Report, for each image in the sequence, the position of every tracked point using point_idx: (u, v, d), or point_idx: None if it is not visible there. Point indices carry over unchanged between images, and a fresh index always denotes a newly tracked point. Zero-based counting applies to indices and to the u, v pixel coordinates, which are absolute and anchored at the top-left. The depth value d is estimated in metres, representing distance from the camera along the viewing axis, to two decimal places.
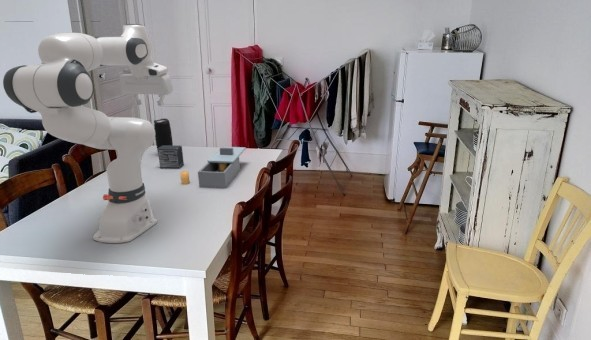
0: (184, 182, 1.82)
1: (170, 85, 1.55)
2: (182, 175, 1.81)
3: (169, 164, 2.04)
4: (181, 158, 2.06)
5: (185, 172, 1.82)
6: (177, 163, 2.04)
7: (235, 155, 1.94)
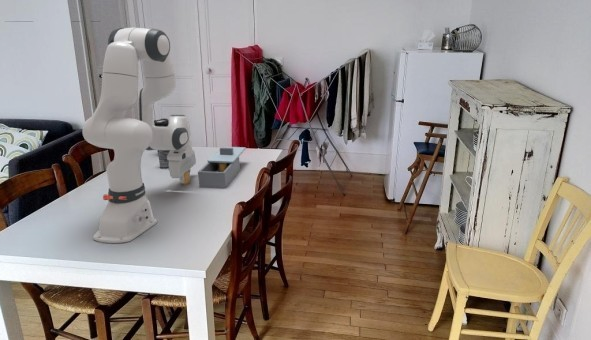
0: (184, 182, 1.82)
1: (175, 172, 1.72)
2: None
3: None
4: None
5: None
6: None
7: (235, 155, 1.94)
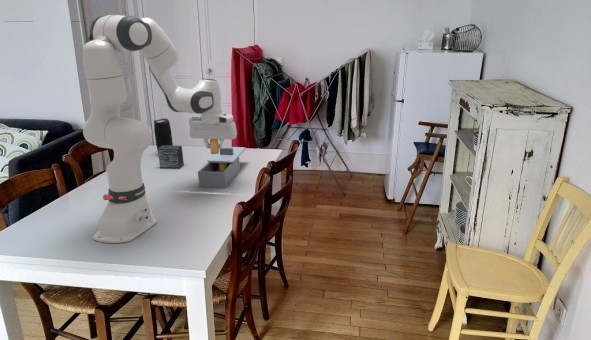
0: None
1: (235, 131, 1.75)
2: (217, 141, 1.77)
3: (169, 164, 2.04)
4: (181, 158, 2.06)
5: (214, 139, 1.78)
6: (177, 163, 2.04)
7: (235, 155, 1.94)
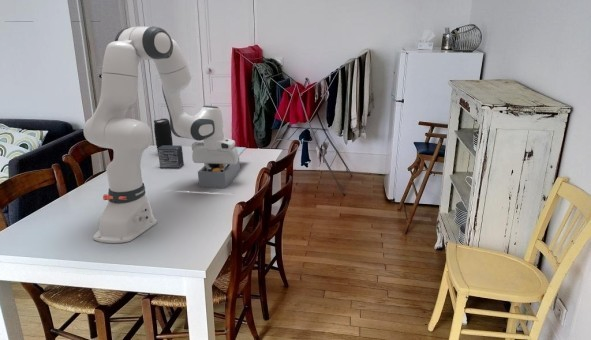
0: None
1: (237, 156, 1.79)
2: (220, 171, 1.82)
3: (169, 164, 2.04)
4: (181, 158, 2.06)
5: (216, 169, 1.82)
6: (177, 163, 2.04)
7: None
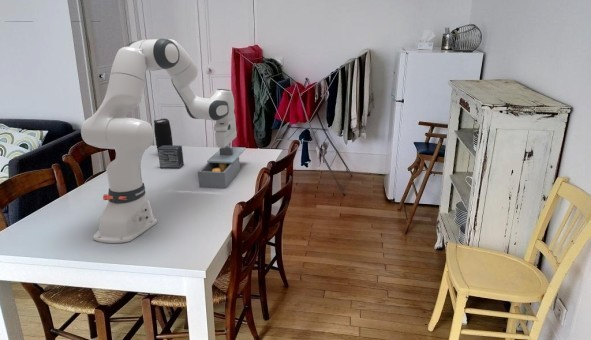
0: None
1: (221, 141, 1.86)
2: (219, 171, 1.82)
3: (169, 164, 2.04)
4: (181, 158, 2.06)
5: (216, 169, 1.82)
6: (177, 163, 2.04)
7: (235, 155, 1.93)
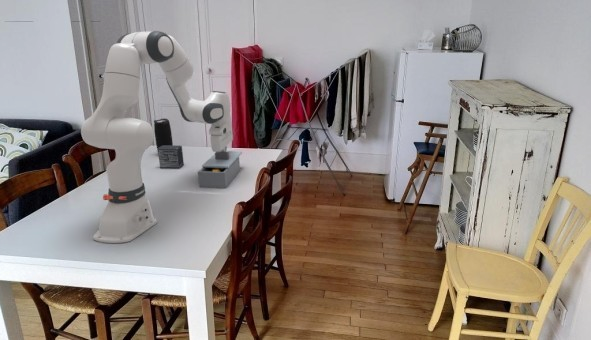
0: None
1: (216, 145, 1.80)
2: (219, 171, 1.82)
3: (169, 164, 2.04)
4: (181, 158, 2.06)
5: (216, 169, 1.82)
6: (177, 163, 2.04)
7: (231, 160, 1.88)
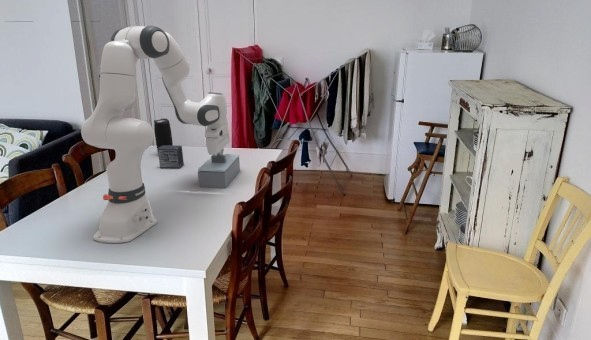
0: None
1: (212, 148, 1.75)
2: None
3: (169, 164, 2.04)
4: (181, 158, 2.06)
5: None
6: (177, 163, 2.04)
7: (227, 163, 1.83)
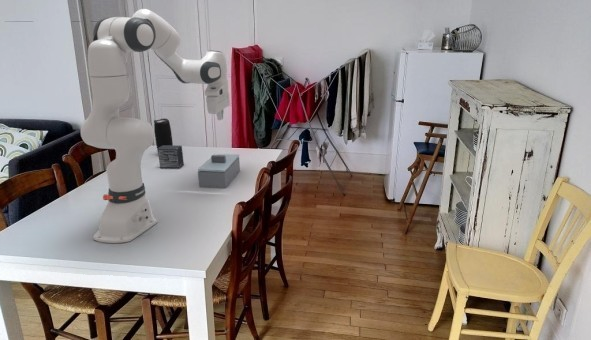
0: None
1: (212, 107, 1.73)
2: None
3: (169, 164, 2.04)
4: (181, 158, 2.06)
5: None
6: (177, 163, 2.04)
7: (227, 163, 1.83)
